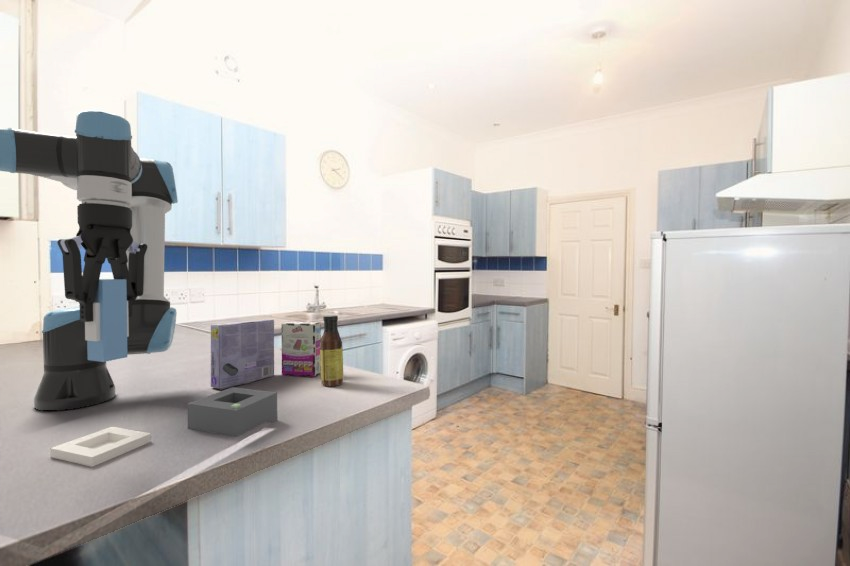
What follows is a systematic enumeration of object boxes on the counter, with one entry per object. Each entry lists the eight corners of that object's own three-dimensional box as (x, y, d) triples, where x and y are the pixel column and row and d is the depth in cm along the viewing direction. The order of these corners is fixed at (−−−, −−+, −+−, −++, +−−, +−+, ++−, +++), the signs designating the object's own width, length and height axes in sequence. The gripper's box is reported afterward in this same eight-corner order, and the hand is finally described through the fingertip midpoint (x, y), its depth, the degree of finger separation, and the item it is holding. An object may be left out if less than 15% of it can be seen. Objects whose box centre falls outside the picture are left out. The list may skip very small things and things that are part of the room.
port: (187, 433, 81) (187, 401, 81) (233, 413, 93) (232, 384, 92) (236, 441, 78) (236, 407, 77) (277, 419, 89) (277, 390, 89)
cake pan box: (267, 373, 128) (267, 317, 127) (278, 375, 126) (278, 318, 125) (208, 388, 111) (208, 324, 111) (219, 391, 109) (219, 325, 108)
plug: (87, 360, 70) (86, 279, 70) (111, 355, 74) (110, 278, 74) (103, 361, 69) (102, 279, 69) (127, 357, 73) (126, 279, 72)
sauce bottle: (347, 383, 118) (348, 315, 117) (332, 388, 112) (332, 317, 112) (331, 379, 121) (331, 313, 120) (315, 384, 116) (315, 315, 115)
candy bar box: (321, 373, 129) (321, 321, 128) (314, 377, 124) (314, 324, 123) (288, 371, 130) (288, 320, 130) (280, 375, 125) (280, 322, 125)
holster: (50, 462, 68) (50, 448, 68) (112, 439, 78) (112, 426, 78) (92, 472, 65) (92, 457, 65) (151, 446, 75) (150, 433, 75)
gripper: (62, 195, 61) (65, 348, 62) (166, 211, 78) (167, 332, 78) (31, 197, 64) (34, 345, 65) (138, 212, 80) (139, 330, 81)
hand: (107, 338), depth 71 cm, fingers closed on plug, 4 cm apart
